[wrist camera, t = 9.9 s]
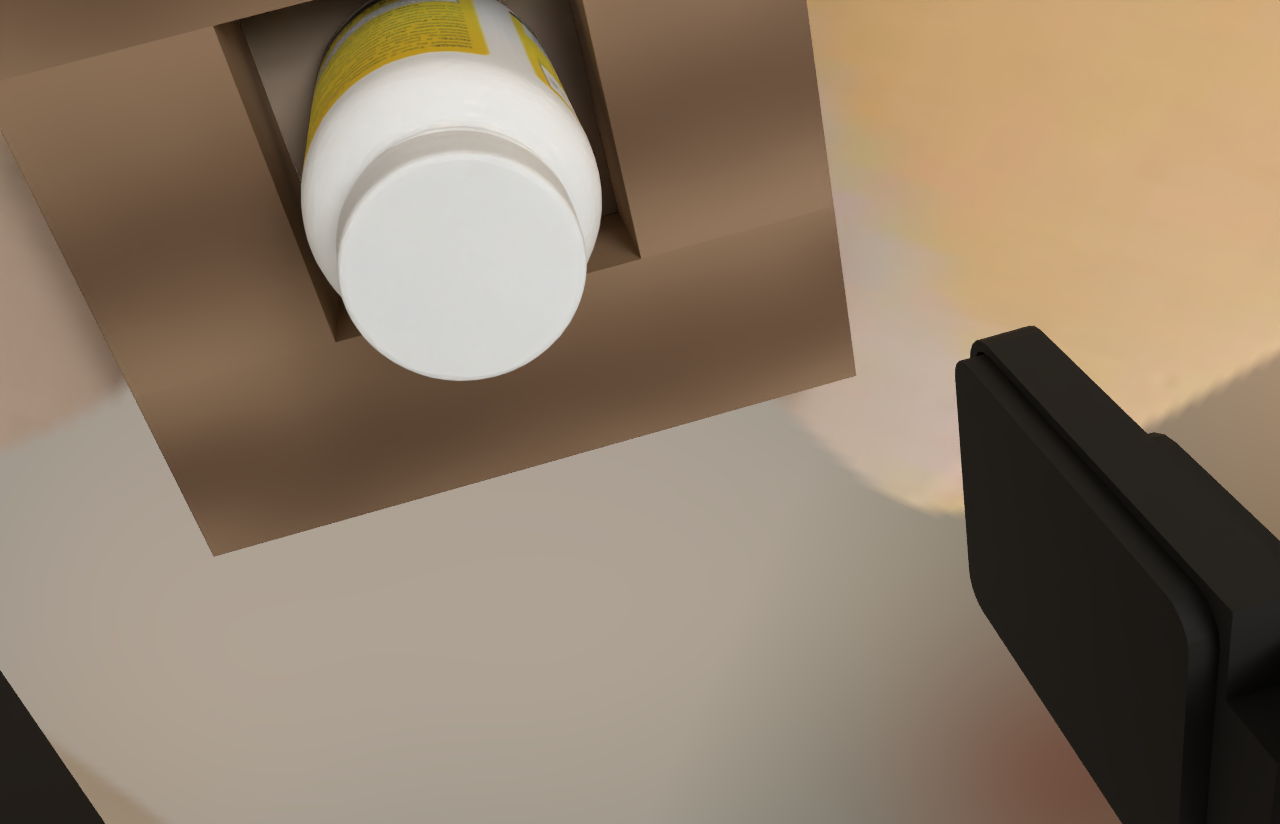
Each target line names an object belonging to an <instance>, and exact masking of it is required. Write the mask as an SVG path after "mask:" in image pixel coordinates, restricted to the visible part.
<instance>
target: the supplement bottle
mask: <svg viewBox="0 0 1280 824" xmlns="http://www.w3.org/2000/svg"><path fill="white" fill-rule="evenodd" d="M301 209H302V217H303V223H304V228H305V232H306V236H307V240H308V243H309V246H310V248H311V251H312V253H313V256H314V258H315V260H316V262H317V264H318V266H319V267H320V269H321V271H322V272H323V274H324V275H325V277H326V278H327V280H328V281H329V283H330V284H331V285H332V287H333V288H334V289H335V291H336V292H337V293H338V294H339V295H340V296H341V297H342V300H343V302H344V305H345V308H346V310H347V312H348V314H349V316H350V318H351V320H352V322H353V323H354V325H355V326H356V328H357V329H358V330H359V332H360V333H361V334H362V336H363V337H364V338H365V339H366V340H367V341H368V342H369V343H370V344H371V345H372V346H373V347H374V348H375V349H376V350H377V351H379V352H380V353H381V354H382V355H384V356H385V357H387V358H388V359H390V360H391V361H393V362H394V363H396V364H398V365H400V366H402V367H403V368H405V369H407V370H410V371H413V372H415V373H418V374H421V375H424V376H428V377H431V378H437V379H443V380H452V381H469V380H480V379H485V378H491V377H496V376H499V375H502V374H505V373H508V372H511V371H513V370H515V369H517V368H519V367H521V366H524V365H526V364H527V363H529V362H531V361H532V360H534V359H535V358H537V357H538V356H539V355H541V354H542V353H543V352H544V351H546V350H547V349H548V348H549V347H550V346H551V345H552V344H553V343H554V342H555V341H556V340H557V339H558V338H559V337H560V336H561V335H562V333H563V332H564V330H565V329H566V328H567V326H568V325H569V323H570V322H571V320H572V318H573V316H574V314H575V312H576V310H577V308H578V306H579V303H580V301H581V297H582V294H583V290H584V286H585V281H586V272H587V263H588V261H589V258H590V256H591V253H592V251H593V248H594V245H595V242H596V239H597V235H598V231H599V227H600V220H601V212H602V193H601V184H600V177H599V171H598V168H597V164H596V160H595V157H594V154H593V151H592V148H591V146H590V143H589V141H588V138H587V136H586V134H585V132H584V130H583V128H582V126H581V124H580V122H579V120H578V118H577V116H576V114H575V111H574V109H573V107H572V105H571V103H570V101H569V99H568V97H567V95H566V93H565V91H564V89H563V87H562V84H561V82H560V80H559V78H558V76H557V74H556V72H555V70H554V68H553V66H552V64H551V62H550V60H549V57H548V56H547V54H546V52H545V51H544V49H543V47H542V45H541V44H540V42H539V41H538V39H537V38H536V36H535V35H534V33H533V32H532V31H531V30H530V28H529V27H528V26H527V25H526V24H525V23H524V22H523V21H522V20H521V18H520V17H518V16H517V15H516V14H515V13H514V12H513V11H511V10H510V9H509V8H508V7H506V6H505V5H503V4H502V3H500V2H499V1H497V0H369V1H368V2H366V3H365V4H364V5H362V6H361V7H359V8H358V9H357V10H356V11H355V12H353V13H352V14H351V15H350V16H349V17H348V18H347V19H346V20H345V21H344V23H343V24H342V25H341V26H340V28H339V29H338V30H337V32H336V33H335V35H334V36H333V38H332V39H331V41H330V43H329V45H328V47H327V49H326V51H325V53H324V56H323V58H322V61H321V64H320V68H319V71H318V75H317V79H316V83H315V88H314V93H313V99H312V107H311V114H310V122H309V128H308V137H307V145H306V151H305V158H304V164H303V172H302V181H301Z"/></svg>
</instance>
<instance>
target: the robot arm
mask: <svg viewBox="0 0 1280 824" xmlns="http://www.w3.org/2000/svg"><path fill="white" fill-rule="evenodd" d="M955 381H956V395H957V409H958V422H959V436H960V450H961V464H962V477H963V491H964V505H965V519H966V533H967V546H968V560H969V572H970V579H971V583H972V587H973V590H974V593H975V596H976V598H977V601H978V603H979V605H980V607H981V609H982V610H983V612H984V614H985V615H986V617H987V618H988V620H989V621H990V623H991V624H992V626H993V627H994V629H995V630H996V632H997V634H998V635H999V637H1000V638H1001V640H1002V641H1003V643H1004V644H1005V646H1006V647H1007V649H1008V650H1009V652H1010V653H1011V655H1012V656H1013V658H1014V659H1015V661H1016V662H1017V664H1018V666H1019V667H1020V669H1021V670H1022V672H1023V673H1024V675H1025V676H1026V678H1027V679H1028V681H1029V682H1030V684H1031V685H1032V686H1033V688H1034V690H1035V691H1036V693H1037V694H1038V696H1039V698H1040V699H1041V701H1042V702H1043V704H1044V705H1045V707H1046V708H1047V710H1048V711H1049V713H1050V714H1051V716H1052V717H1053V719H1054V720H1055V722H1056V723H1057V725H1058V726H1059V728H1060V730H1061V731H1062V733H1063V734H1064V736H1065V737H1066V739H1067V740H1068V742H1069V743H1070V745H1071V746H1072V748H1073V749H1074V751H1075V752H1076V754H1077V755H1078V757H1079V759H1080V760H1081V761H1082V763H1083V765H1084V766H1085V768H1086V769H1087V771H1088V772H1089V774H1090V775H1091V777H1092V778H1093V780H1094V781H1095V783H1096V784H1097V786H1098V787H1099V789H1100V791H1101V792H1102V794H1103V795H1104V797H1105V798H1106V800H1107V801H1108V803H1109V804H1110V806H1111V807H1112V809H1113V810H1114V812H1115V813H1116V815H1117V816H1118V818H1119V819H1120V821H1121V822H1122V824H1280V541H1279V540H1278V539H1277V538H1276V537H1275V536H1274V535H1273V534H1272V533H1271V532H1270V531H1269V530H1268V529H1267V528H1266V527H1264V526H1263V525H1262V524H1261V523H1260V522H1259V521H1258V520H1257V519H1256V518H1255V517H1254V516H1253V515H1252V514H1251V513H1250V512H1248V510H1247V509H1245V508H1244V507H1243V506H1242V505H1241V504H1240V503H1239V502H1238V501H1237V500H1236V499H1235V498H1234V497H1233V496H1232V495H1231V494H1230V493H1229V492H1228V491H1226V490H1225V489H1224V488H1223V487H1222V486H1221V485H1220V484H1219V483H1218V482H1217V481H1216V480H1215V479H1214V478H1213V477H1212V476H1211V475H1210V474H1209V473H1208V472H1207V471H1206V470H1204V469H1203V468H1202V467H1201V466H1200V465H1199V464H1198V463H1197V462H1196V461H1195V460H1194V459H1193V458H1192V457H1191V456H1190V455H1189V454H1188V453H1186V452H1185V451H1184V450H1183V449H1182V448H1181V447H1180V446H1179V445H1178V444H1177V443H1176V442H1174V441H1173V440H1172V439H1170V438H1169V437H1167V436H1166V435H1164V434H1159V433H1154V432H1153V433H1150V434H1147V433H1146V432H1145V431H1144V430H1143V429H1142V428H1141V427H1140V426H1139V425H1138V424H1137V423H1136V422H1135V421H1134V420H1133V419H1132V418H1130V417H1129V416H1128V415H1127V414H1126V413H1125V412H1124V411H1123V410H1122V409H1121V408H1120V407H1119V406H1118V405H1117V404H1116V403H1115V402H1114V401H1113V400H1112V399H1111V398H1110V397H1109V396H1108V395H1107V394H1106V393H1105V392H1104V391H1103V390H1102V389H1101V388H1100V387H1099V386H1098V385H1097V384H1096V383H1095V382H1094V381H1092V380H1091V379H1090V378H1089V377H1088V376H1087V375H1086V374H1085V373H1084V372H1083V371H1082V370H1081V369H1080V368H1079V367H1078V366H1077V365H1076V364H1075V363H1074V362H1073V361H1072V360H1071V359H1070V358H1069V357H1068V356H1067V355H1066V354H1065V353H1064V352H1063V351H1062V350H1061V349H1060V348H1059V347H1058V346H1057V345H1055V344H1054V343H1053V342H1052V341H1051V340H1050V339H1049V338H1048V337H1047V336H1046V335H1045V334H1044V333H1043V332H1042V331H1041V330H1040V329H1038V328H1037V327H1035V326H1027V327H1023V328H1020V329H1016V330H1013V331H1009V332H1005V333H1002V334H998V335H995V336H991V337H988V338H984V339H980V340H977V341H975V342H974V343H973V344H972V348H971V352H970V358H969V359H965V360H962V361H959V362H958V363H957V364H956V368H955ZM0 824H105V823H104V821H103V820H102V818H101V817H100V816H99V814H98V813H97V811H96V810H95V808H94V807H93V805H92V804H91V802H90V801H89V799H88V798H87V796H86V795H85V794H84V792H83V791H82V789H81V788H80V786H79V785H78V783H77V782H76V780H75V779H74V777H73V776H72V775H71V773H70V772H69V770H68V769H67V767H66V766H65V764H64V763H63V761H62V760H61V758H60V757H59V756H58V754H57V753H56V751H55V750H54V748H53V747H52V745H51V744H50V742H49V741H48V739H47V738H46V737H45V735H44V734H43V732H42V731H41V729H40V728H39V726H38V725H37V723H36V722H35V720H34V719H33V718H32V716H31V715H30V713H29V712H28V710H27V709H26V707H25V706H24V704H23V703H22V701H21V700H20V698H19V697H18V696H17V694H16V693H15V691H14V690H13V688H12V687H11V685H10V684H9V683H8V681H7V679H6V678H5V677H4V675H3V674H2V672H1V671H0Z"/></svg>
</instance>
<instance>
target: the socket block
mask: <svg viewBox="0 0 1280 824" xmlns="http://www.w3.org/2000/svg"><path fill="white" fill-rule="evenodd" d="M308 1H312V0H0V130H1V132H2V134H3V136H4V138H5V140H6V142H7V144H8V146H9V148H10V150H11V152H12V154H13V156H14V158H15V160H16V162H17V164H18V166H19V168H20V170H21V172H22V174H23V176H24V178H25V180H26V182H27V184H28V186H29V188H30V190H31V192H32V194H33V196H34V198H35V200H36V202H37V204H38V206H39V208H40V210H41V212H42V214H43V216H44V218H45V220H46V222H47V224H48V226H49V228H50V230H51V232H52V234H53V236H54V238H55V240H56V242H57V244H58V246H59V248H60V250H61V252H62V254H63V256H64V258H65V260H66V262H67V264H68V266H69V268H70V270H71V272H72V274H73V276H74V278H75V280H76V282H77V284H78V286H79V288H80V290H81V292H82V294H83V296H84V298H85V300H86V302H87V304H88V306H89V308H90V310H91V312H92V314H93V316H94V318H95V320H96V322H97V324H98V326H99V328H100V330H101V332H102V334H103V336H104V338H105V340H106V342H107V344H108V346H109V348H110V350H111V352H112V354H113V356H114V358H115V360H116V362H117V364H118V366H119V368H120V370H121V372H122V374H123V376H124V378H125V380H126V382H127V384H128V386H129V388H130V390H131V392H132V394H133V396H134V398H135V400H136V402H137V404H138V406H139V408H140V410H141V412H142V414H143V416H144V418H145V420H146V422H147V424H148V426H149V428H150V430H151V432H152V434H153V436H154V438H155V440H156V442H157V444H158V446H159V448H160V450H161V452H162V454H163V456H164V458H165V460H166V462H167V464H168V466H169V468H170V470H171V472H172V474H173V476H174V478H175V480H176V482H177V484H178V486H179V488H180V490H181V492H182V494H183V496H184V498H185V500H186V502H187V504H188V506H189V508H190V510H191V512H192V514H193V516H194V518H195V520H196V522H197V524H198V526H199V528H200V530H201V532H202V534H203V536H204V538H205V540H206V542H207V544H208V546H209V548H210V550H211V552H212V554H213V556H217V555H221V554H225V553H228V552H232V551H235V550H239V549H242V548H246V547H249V546H252V545H256V544H260V543H264V542H267V541H270V540H274V539H278V538H281V537H285V536H288V535H292V534H295V533H299V532H302V531H306V530H309V529H313V528H317V527H320V526H324V525H327V524H331V523H335V522H338V521H341V520H345V519H348V518H352V517H356V516H359V515H363V514H366V513H370V512H374V511H377V510H380V509H384V508H387V507H391V506H395V505H398V504H402V503H405V502H409V501H413V500H416V499H420V498H423V497H427V496H430V495H434V494H437V493H441V492H445V491H448V490H452V489H455V488H458V487H462V486H466V485H469V484H473V483H477V482H480V481H484V480H487V479H491V478H494V477H498V476H501V475H505V474H508V473H512V472H516V471H518V470H523V469H526V468H529V467H533V466H537V465H540V464H544V463H547V462H551V461H555V460H558V459H562V458H565V457H569V456H572V455H576V454H579V453H583V452H586V451H590V450H594V449H597V448H600V447H604V446H608V445H611V444H615V443H618V442H622V441H626V440H629V439H633V438H636V437H640V436H643V435H646V434H650V433H654V432H658V431H661V430H665V429H668V428H672V427H675V426H679V425H682V424H686V423H689V422H693V421H697V420H700V419H703V418H707V417H711V416H714V415H718V414H721V413H725V412H728V411H732V410H736V409H739V408H743V407H746V406H750V405H753V404H757V403H760V402H764V401H768V400H771V399H775V398H778V397H782V396H785V395H789V394H792V393H796V392H799V391H803V390H807V389H810V388H814V387H817V386H821V385H824V384H828V383H831V382H835V381H838V380H842V379H846V378H849V377H853V376H856V371H855V364H854V356H853V349H852V341H851V334H850V326H849V319H848V311H847V304H846V296H845V289H844V281H843V274H842V266H841V258H840V251H839V243H838V236H837V228H836V221H835V213H834V206H833V198H832V191H831V183H830V176H829V168H828V161H827V153H826V146H825V138H824V131H823V123H822V116H821V108H820V101H819V93H818V86H817V78H816V70H815V63H814V55H813V48H812V40H811V33H810V25H809V18H808V10H807V3H806V0H569V1H570V6H571V10H572V14H573V19H574V23H575V27H576V32H577V36H578V40H579V44H580V49H581V53H582V57H583V62H584V66H585V70H586V74H587V79H588V83H589V87H590V92H591V96H592V100H593V105H594V109H595V113H596V117H597V122H598V126H599V130H600V135H601V139H602V143H603V147H604V152H605V156H606V160H607V165H608V169H609V173H610V178H611V182H612V186H613V190H614V195H615V199H616V203H617V208H618V213H614V214H611V215H607V216H603V217H601V220H600V227H599V231H598V235H597V239H596V242H595V245H594V248H593V251H592V253H591V256H590V258H589V261H588V263H587V272H586V281H585V286H584V290H583V294H582V297H581V301H580V303H579V306H578V308H577V310H576V312H575V314H574V316H573V318H572V320H571V322H570V323H569V325H568V326H567V328H566V329H565V330H564V332H563V333H562V335H561V336H560V337H559V338H558V339H557V340H556V341H555V342H554V343H553V344H552V345H551V346H550V347H549V348H548V349H547V350H546V351H544V352H543V353H542V354H541V355H539V356H538V357H537V358H535V359H534V360H532V361H531V362H529V363H527V364H526V365H524V366H521V367H519V368H517V369H515V370H513V371H511V372H508V373H505V374H502V375H499V376H496V377H491V378H485V379H480V380H469V381H452V380H443V379H437V378H431V377H428V376H424V375H421V374H418V373H415V372H413V371H410V370H407V369H405V368H403V367H402V366H400V365H398V364H396V363H394V362H393V361H391V360H390V359H388V358H387V357H385V356H384V355H382V354H381V353H380V352H379V351H377V350H376V349H375V348H374V347H373V346H372V345H371V344H370V343H369V342H368V341H367V340H366V339H365V338H364V337H363V336H362V334H361V333H360V332H359V330H358V329H357V328H356V326H355V325H354V323H353V322H352V320H351V318H350V316H349V314H348V312H347V310H346V308H345V305H344V302H343V300H342V297H341V296H340V295H339V294H338V293H337V292H336V291H335V289H334V288H333V287H332V285H331V284H330V283H329V281H328V280H327V278H326V277H325V275H324V274H323V272H322V271H321V269H320V267H319V266H318V264H317V262H316V260H315V258H314V256H313V253H312V251H311V248H310V246H309V243H308V240H307V236H306V232H305V228H304V223H303V217H302V209H301V185H300V183H299V180H298V177H297V175H296V172H295V169H294V167H293V164H292V161H291V159H290V156H289V153H288V151H287V148H286V145H285V143H284V140H283V137H282V135H281V132H280V129H279V127H278V124H277V121H276V119H275V116H274V113H273V111H272V108H271V105H270V103H269V100H268V97H267V95H266V92H265V89H264V87H263V84H262V81H261V79H260V76H259V73H258V71H257V68H256V65H255V63H254V60H253V57H252V55H251V52H250V49H249V47H248V44H247V41H246V39H245V36H244V33H243V31H242V28H241V25H240V23H239V20H238V19H242V18H246V17H250V16H253V15H257V14H261V13H265V12H269V11H273V10H277V9H281V8H284V7H288V6H292V5H296V4H300V3H304V2H308Z"/></svg>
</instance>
